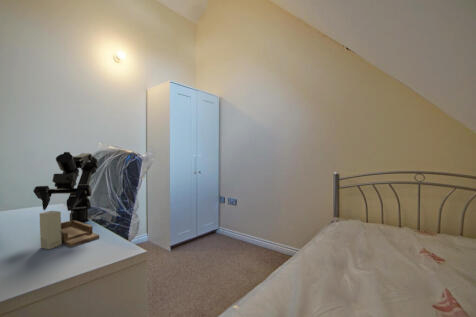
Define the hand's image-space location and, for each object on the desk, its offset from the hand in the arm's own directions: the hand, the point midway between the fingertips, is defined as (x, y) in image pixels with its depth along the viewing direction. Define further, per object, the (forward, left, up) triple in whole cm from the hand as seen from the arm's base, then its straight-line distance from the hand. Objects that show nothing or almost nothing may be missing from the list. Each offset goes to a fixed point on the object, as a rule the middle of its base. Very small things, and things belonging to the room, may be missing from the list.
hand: (58, 208), depth 85 cm
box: (+4, +5, -13) cm, 14 cm away
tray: (-4, +1, -13) cm, 13 cm away
